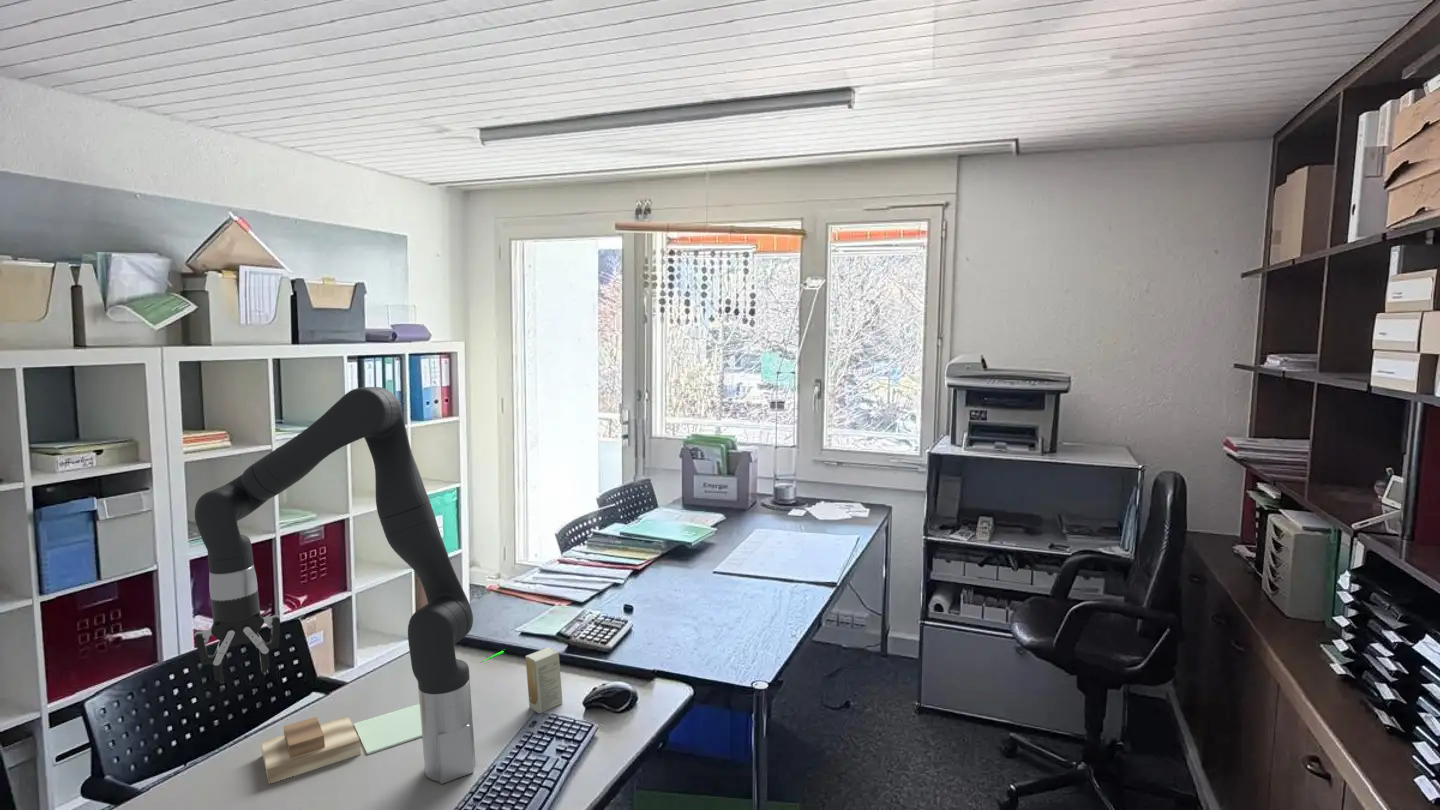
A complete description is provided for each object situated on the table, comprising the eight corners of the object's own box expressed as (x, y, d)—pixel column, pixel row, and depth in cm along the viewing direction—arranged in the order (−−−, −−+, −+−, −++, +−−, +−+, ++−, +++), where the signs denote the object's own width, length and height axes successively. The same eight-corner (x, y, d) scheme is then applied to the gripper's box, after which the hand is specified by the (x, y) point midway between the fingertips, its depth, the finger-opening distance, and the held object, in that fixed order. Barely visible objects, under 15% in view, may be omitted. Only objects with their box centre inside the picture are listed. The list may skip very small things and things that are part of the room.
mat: (467, 721, 165) (467, 720, 165) (367, 754, 153) (367, 752, 153) (448, 696, 176) (448, 694, 176) (353, 725, 165) (353, 723, 165)
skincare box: (552, 697, 175) (549, 645, 173) (563, 703, 172) (560, 651, 170) (527, 707, 170) (524, 655, 169) (538, 714, 167) (534, 661, 166)
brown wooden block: (325, 747, 151) (323, 735, 151) (290, 758, 148) (289, 745, 147) (317, 728, 158) (316, 716, 158) (284, 737, 155) (283, 726, 155)
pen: (524, 644, 204) (524, 641, 204) (480, 664, 193) (480, 661, 193) (522, 643, 205) (522, 641, 205) (478, 664, 193) (478, 661, 193)
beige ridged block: (360, 754, 154) (359, 740, 153) (268, 784, 144) (267, 769, 144) (349, 728, 163) (348, 715, 163) (262, 755, 154) (260, 741, 154)
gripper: (188, 606, 137) (198, 695, 139) (280, 588, 145) (288, 672, 147) (187, 594, 143) (197, 680, 145) (276, 577, 151) (284, 659, 153)
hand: (243, 676), depth 146 cm, fingers open, 6 cm apart
